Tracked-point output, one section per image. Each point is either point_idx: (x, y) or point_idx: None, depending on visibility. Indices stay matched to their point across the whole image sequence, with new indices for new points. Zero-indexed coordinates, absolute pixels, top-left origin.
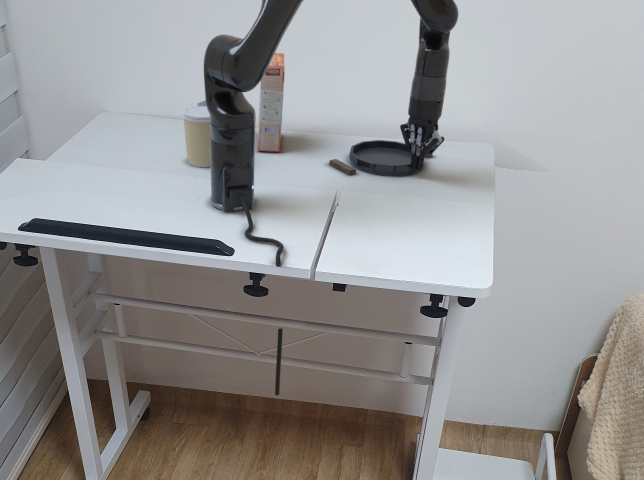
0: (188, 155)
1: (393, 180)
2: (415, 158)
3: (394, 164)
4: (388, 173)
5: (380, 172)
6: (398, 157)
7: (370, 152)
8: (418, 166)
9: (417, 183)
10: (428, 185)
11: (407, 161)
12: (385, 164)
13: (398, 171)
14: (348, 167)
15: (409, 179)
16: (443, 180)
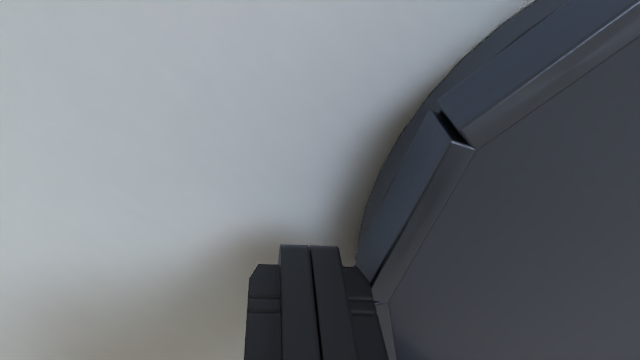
0: None
1: (358, 13)
2: (302, 336)
3: (541, 236)
4: (475, 61)
5: (552, 3)
6: (589, 339)
7: None
8: (253, 287)
9: (175, 151)
10: (93, 194)
11: (497, 340)
12: (566, 71)
13: (411, 147)
14: None
15: (285, 158)
16: (136, 333)
